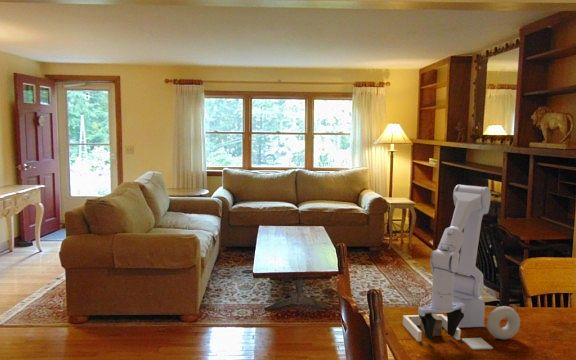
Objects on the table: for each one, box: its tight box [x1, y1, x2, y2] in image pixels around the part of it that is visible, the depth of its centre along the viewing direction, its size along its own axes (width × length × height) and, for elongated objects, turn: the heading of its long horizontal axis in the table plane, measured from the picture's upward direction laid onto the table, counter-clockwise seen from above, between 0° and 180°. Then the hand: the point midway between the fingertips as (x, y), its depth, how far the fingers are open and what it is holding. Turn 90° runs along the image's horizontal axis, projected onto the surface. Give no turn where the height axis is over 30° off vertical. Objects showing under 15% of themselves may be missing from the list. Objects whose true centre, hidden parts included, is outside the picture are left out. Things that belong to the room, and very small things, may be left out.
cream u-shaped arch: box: [402, 313, 462, 343], centre depth 136 cm, size 13×12×3 cm
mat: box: [461, 337, 494, 350], centre depth 129 cm, size 6×6×1 cm
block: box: [420, 314, 443, 337], centre depth 136 cm, size 4×4×5 cm
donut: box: [486, 305, 521, 341], centre depth 132 cm, size 10×4×10 cm, turn 98°
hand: (439, 336), depth 130 cm, fingers open, 7 cm apart
